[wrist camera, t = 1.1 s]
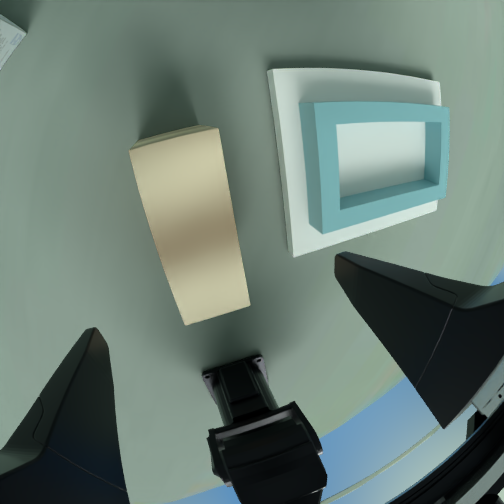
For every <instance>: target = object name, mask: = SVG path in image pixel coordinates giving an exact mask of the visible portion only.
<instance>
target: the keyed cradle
mask: <svg viewBox="0 0 504 504" xmlns="http://www.w3.org/2000/svg"><path fill="white" fill-rule="evenodd" d="M267 76H268V83H269V90H270V97H271V104H272V111H273V118H274V126H275V133H276V141H277V149H278V157H279V166H280V174H281V183H282V193H283V202H284V212H285V222H286V232H287V243H288V252H289V253H290V254H291V255H292V256H293V257H297V256H300V255H303V254H306V253H309V252H312V251H316V250H319V249H322V248H325V247H328V246H331V245H334V244H337V243H340V242H344V241H347V240H350V239H353V238H356V237H359V236H362V235H365V234H368V233H371V232H374V231H377V230H380V229H383V228H386V227H389V226H392V225H395V224H398V223H401V222H404V221H407V220H410V219H413V218H416V217H419V216H421V215H424V214H427V213H430V212H433V211H436V209H437V201H438V200H439V199H442V198H445V196H446V187H447V176H448V163H449V137H450V119H449V107H444V106H441V94H440V82H437V81H432V80H427V79H422V78H417V77H411V76H405V75H399V74H392V73H385V72H376V71H366V70H354V69H336V68H284V69H271V70H268V71H267Z"/></svg>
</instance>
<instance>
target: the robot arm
mask: <svg viewBox="0 0 504 504" xmlns="http://www.w3.org/2000/svg"><path fill="white" fill-rule="evenodd" d="M334 273H335V277H336V279H337V281H338V282H339V284H340V285H341V287H342V289H343V290H344V292H345V293H346V295H347V297H348V298H349V300H350V301H351V303H352V304H353V306H354V307H355V309H356V310H357V312H358V313H359V314H360V315H361V317H362V318H363V319H364V320H365V322H366V323H367V324H368V326H369V327H370V328H371V330H372V331H373V332H374V333H375V335H376V336H377V337H378V339H379V340H380V341H381V343H382V344H383V345H384V347H385V348H386V349H387V351H388V352H389V353H390V355H391V356H392V357H393V359H394V360H395V361H396V363H397V364H398V365H399V367H400V368H401V370H402V371H403V372H404V374H405V375H406V376H407V378H408V379H409V381H410V382H411V383H412V385H413V386H414V388H415V389H416V391H417V392H418V393H419V395H420V396H421V398H422V399H423V400H424V402H425V403H426V405H427V406H428V407H429V409H430V411H431V412H432V414H433V415H434V416H435V418H436V419H437V421H438V422H439V424H440V425H441V427H442V428H443V429H445V428H446V427H448V426H449V425H450V424H451V423H452V422H453V421H454V420H455V419H457V418H458V417H459V416H460V415H461V414H462V413H463V412H464V411H465V410H466V409H467V408H468V407H469V406H470V405H471V404H473V405H474V406H475V408H477V411H476V412H475V413H474V415H472V417H471V418H470V419H469V420H468V423H467V435H466V441H465V442H464V443H463V444H462V445H461V446H460V447H459V448H458V449H456V450H455V451H454V452H453V453H452V454H451V455H450V456H449V457H448V458H446V459H445V460H444V461H443V462H442V463H441V464H439V465H438V466H437V467H436V468H434V469H433V470H432V471H431V472H429V473H428V474H427V475H426V476H424V477H423V478H422V479H420V480H419V481H418V482H416V483H415V484H414V485H412V486H411V487H409V488H408V489H406V490H405V491H404V492H402V493H401V494H399V495H398V496H396V497H395V498H393V499H392V500H390V501H388V502H387V503H385V504H504V503H503V501H502V500H501V498H500V497H499V496H498V495H497V494H498V493H499V492H500V491H501V490H502V489H503V488H504V282H502V283H500V284H497V285H494V286H480V285H475V284H471V283H466V282H461V281H457V280H452V279H448V278H443V277H440V276H436V275H432V274H429V273H424V272H421V271H418V270H414V269H410V268H407V267H403V266H399V265H396V264H392V263H388V262H384V261H381V260H377V259H373V258H369V257H365V256H362V255H358V254H354V253H350V252H346V251H345V252H341V253H338V254H336V256H335V269H334ZM202 377H203V380H204V382H205V384H206V386H207V388H208V390H209V392H210V394H211V396H212V397H213V399H214V401H215V403H216V404H217V405H218V408H219V412H220V415H221V418H222V421H223V424H224V426H223V427H219V428H216V429H214V428H212V429H209V430H208V431H209V437H208V438H207V441H208V445H209V448H210V452H211V462H212V471H213V473H214V475H216V476H218V477H220V478H221V480H222V481H223V482H224V483H225V485H226V486H227V487H231V486H233V488H234V490H235V492H236V494H237V496H238V499H239V501H240V502H241V503H242V504H320V501H321V496H322V491H323V488H325V487H326V485H327V474H326V471H325V468H324V466H323V464H322V462H321V459H320V457H319V455H321V454H322V453H323V450H322V446H321V443H320V441H319V438H318V436H317V434H316V432H315V430H314V429H313V427H312V426H311V424H310V423H309V421H308V420H307V418H306V417H305V416H304V414H303V413H302V411H301V410H300V408H299V407H298V405H297V404H296V402H295V401H293V402H290V403H289V404H288V405H285V406H282V407H280V408H279V407H278V405H277V403H276V401H275V399H274V396H273V394H272V392H271V390H270V388H269V384H268V379H267V374H266V369H265V364H264V359H263V357H262V355H255V356H253V357H250V358H247V359H244V360H241V361H238V362H234V363H231V364H228V365H225V366H222V367H219V368H215V369H212V370H209V371H205V372H203V373H202ZM39 396H40V397H38V398H37V399H36V401H35V403H34V404H33V406H32V407H31V409H30V410H29V412H28V413H27V415H26V416H25V418H24V419H23V420H22V422H21V423H20V425H19V426H18V427H17V429H16V430H15V432H14V433H13V434H12V436H11V437H10V439H9V440H8V442H7V443H6V445H5V446H4V447H3V448H2V449H1V450H0V504H130V502H129V498H128V493H127V492H126V491H127V489H126V484H125V479H124V474H123V468H122V462H121V456H120V449H119V441H118V433H117V423H116V413H115V399H114V384H113V377H112V370H111V363H110V355H109V348H108V345H107V343H106V341H105V339H104V338H103V336H102V335H101V333H100V332H99V330H98V329H97V328H96V327H93V328H89V329H86V330H85V331H84V333H83V334H82V335H81V337H80V338H79V339H78V341H77V342H76V343H75V345H74V346H73V347H72V349H71V350H70V351H69V353H68V354H67V356H66V357H65V358H64V360H63V361H62V363H61V364H60V365H59V367H58V368H57V370H56V371H55V373H54V374H53V375H52V377H51V378H50V380H49V381H48V383H47V384H46V386H45V387H44V389H43V390H42V392H41V393H40V395H39Z"/></svg>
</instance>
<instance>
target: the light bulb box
mask: <svg viewBox="0 0 504 504" xmlns="http://www.w3.org/2000/svg"><path fill="white" fill-rule="evenodd" d="M26 34H27V33H26V32H25V31H24V30H23V29H21V28H20V27H18V26H17V25H16V24H14V23H13V22H11V21H10V20H8V19H7V18H5V17H4V16H3V15H1V14H0V70H1V68H2V67H3V65H4V64H5V62H6V61H7V60H8V58H9V57H10V55H11V54H12V52H13V51H14V50H15V48H16V47H17V46H18V44H19V43H20V42H21V41H22V39H23V38H24V37H25V35H26Z"/></svg>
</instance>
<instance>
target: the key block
mask: <svg viewBox="0 0 504 504" xmlns="http://www.w3.org/2000/svg"><path fill="white" fill-rule="evenodd" d="M129 154H130V158H131V162H132V166H133V170H134V174H135V178H136V181H137V185H138V189H139V192H140V196H141V199H142V203H143V206H144V210H145V213H146V216H147V220H148V223H149V226H150V229H151V232H152V236H153V239H154V242H155V245H156V248H157V251H158V254H159V257H160V260H161V263H162V265H163V268H164V271H165V274H166V277H167V279H168V282H169V285H170V288H171V290H172V293H173V296H174V298H175V301H176V303H177V306H178V308H179V311H180V314H181V316H182V319H183V321H184V323H185V325H189V324H192V323H196V322H199V321H202V320H206V319H209V318H212V317H216V316H219V315H222V314H225V313H229V312H232V311H235V310H238V309H241V308H244V307H248V306H251V305H250V300H249V294H248V289H247V284H246V279H245V273H244V268H243V262H242V257H241V252H240V246H239V241H238V235H237V230H236V224H235V219H234V213H233V208H232V202H231V197H230V191H229V185H228V180H227V174H226V168H225V163H224V157H223V151H222V146H221V140H220V134H219V128H215V127H209V126H204V125H196V126H192V127H187V128H183V129H179V130H175V131H171V132H167V133H163V134H159V135H155V136H152V137H148V138H145V139H141V140H138V141H137V142H136V143H135V144H134V145H133V147H132V148H131V149H130V150H129Z"/></svg>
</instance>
